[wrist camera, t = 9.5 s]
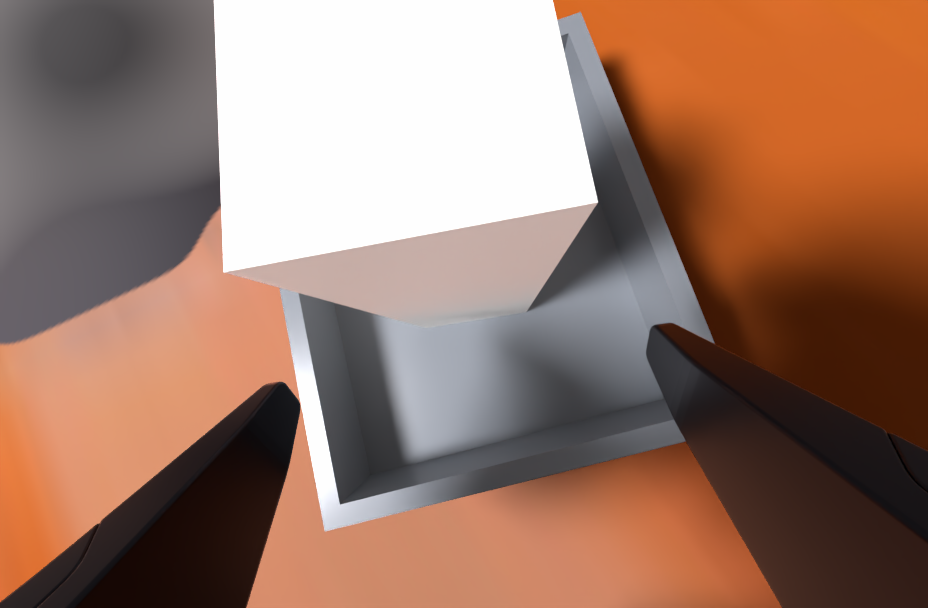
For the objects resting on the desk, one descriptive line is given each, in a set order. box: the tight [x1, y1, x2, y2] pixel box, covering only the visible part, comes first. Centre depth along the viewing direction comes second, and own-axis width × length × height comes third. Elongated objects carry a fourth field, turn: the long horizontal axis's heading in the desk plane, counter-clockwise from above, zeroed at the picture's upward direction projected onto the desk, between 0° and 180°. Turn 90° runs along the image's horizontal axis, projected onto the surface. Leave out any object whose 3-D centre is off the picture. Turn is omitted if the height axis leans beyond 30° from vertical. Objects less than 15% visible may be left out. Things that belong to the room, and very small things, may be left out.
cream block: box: [214, 0, 598, 328], centre depth 10 cm, size 5×5×12 cm
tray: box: [280, 12, 715, 531], centre depth 15 cm, size 18×16×4 cm
